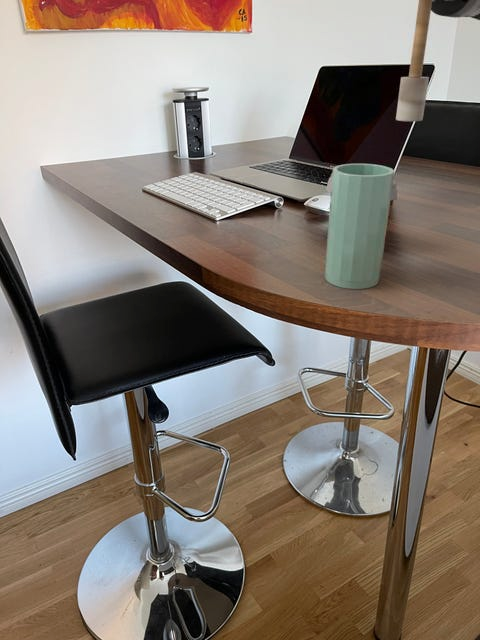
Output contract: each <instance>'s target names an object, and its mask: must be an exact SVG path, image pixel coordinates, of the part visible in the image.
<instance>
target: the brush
mask: <svg viewBox="0 0 480 640" xmlns="http://www.w3.org/2000/svg"><path fill="white" fill-rule="evenodd" d="M431 6H432V0H418V5H417V12H416V19H415V27H414V35H413V42H412V49H411V57H410V65H409V72H408V76H401V77H400V83H399V91H398V100H397V107H396V114H395V115H396V116H395V121H398V122H422V121H423V120H424V119H423V118H424V115H425V114H424V113H425V107H426V100H427V95H428V85H429V79H430V77H429V76H423V75H422V74H423V67H424V61H425V55H426V47H427V39H428V32H429V28H430V26H429V25H430V19H431V12H432V11H431Z"/></svg>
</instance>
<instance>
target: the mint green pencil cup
mask: <svg viewBox="0 0 480 640" xmlns="http://www.w3.org/2000/svg"><path fill="white" fill-rule="evenodd" d="M331 174H332V186H331V199H330V201H329V212H328V213H329V214H328V225H327V236H326V237H327V238H326V249H325V250H326V251H325V252H326V253H325V265H324V269H325V270H324V279H325V280H326V282H327V283H329V284H331V285H333V286H335V287H338V288H341V289H347V290H348V289H349V290H367V289H370V288H373V287H375V286H377V285H378V284H379V282H380V277H381V272H382V264H383V258H384V251H385V243H386V237H387V232H386V229H387V230H388V227H387V222H388V214H389V207H390V200H391V192H392V185H393V184H394V177H395V170H394V169H393V168H392V167H389V166H385V165H380V164H375V163H374V164H373V163H346V164H345V163H344V164H340V165H336V166H334V167H332V172H331Z"/></svg>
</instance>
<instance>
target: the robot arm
mask: <svg viewBox="0 0 480 640" xmlns="http://www.w3.org/2000/svg"><path fill="white" fill-rule="evenodd" d="M431 12H432V13H434V14H435V15H437V16H440V17H447V18H455V19H456V18H458V19H459V18H472V19H474V20H477V21H480V0H432V6H431Z"/></svg>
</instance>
